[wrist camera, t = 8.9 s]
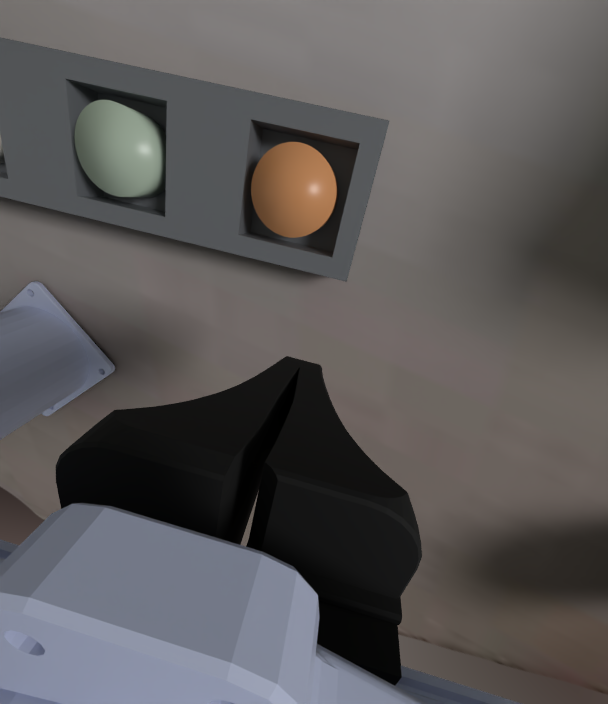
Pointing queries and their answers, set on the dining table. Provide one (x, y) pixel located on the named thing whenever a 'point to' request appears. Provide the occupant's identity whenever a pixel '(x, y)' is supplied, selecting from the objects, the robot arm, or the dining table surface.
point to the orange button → (294, 189)
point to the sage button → (121, 150)
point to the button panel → (181, 154)
